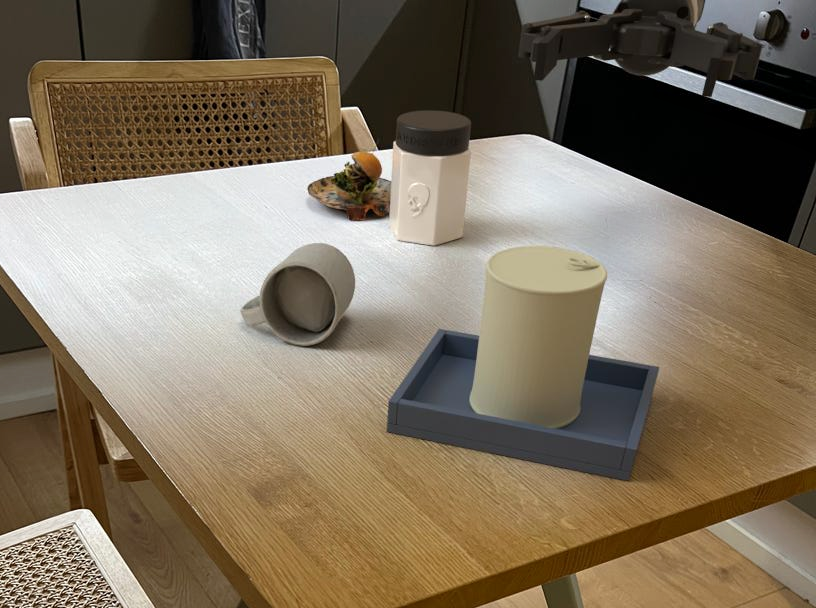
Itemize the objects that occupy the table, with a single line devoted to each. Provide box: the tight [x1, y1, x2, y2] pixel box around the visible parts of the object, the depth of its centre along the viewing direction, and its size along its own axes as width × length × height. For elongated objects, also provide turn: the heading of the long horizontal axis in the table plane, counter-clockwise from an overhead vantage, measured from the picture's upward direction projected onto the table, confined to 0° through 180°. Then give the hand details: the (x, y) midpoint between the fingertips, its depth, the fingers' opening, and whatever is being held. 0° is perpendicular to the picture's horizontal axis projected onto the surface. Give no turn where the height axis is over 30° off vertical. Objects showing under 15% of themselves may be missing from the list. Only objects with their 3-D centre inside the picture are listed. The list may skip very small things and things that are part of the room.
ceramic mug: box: [239, 242, 356, 347], centre depth 91 cm, size 11×8×8 cm
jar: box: [388, 110, 472, 247], centre depth 109 cm, size 9×8×12 cm
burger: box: [306, 138, 391, 222], centre depth 118 cm, size 12×12×8 cm
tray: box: [386, 328, 660, 482], centre depth 81 cm, size 20×15×3 cm
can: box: [470, 245, 608, 429], centre depth 77 cm, size 9×9×12 cm
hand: (623, 69), depth 78 cm, fingers open, 13 cm apart
